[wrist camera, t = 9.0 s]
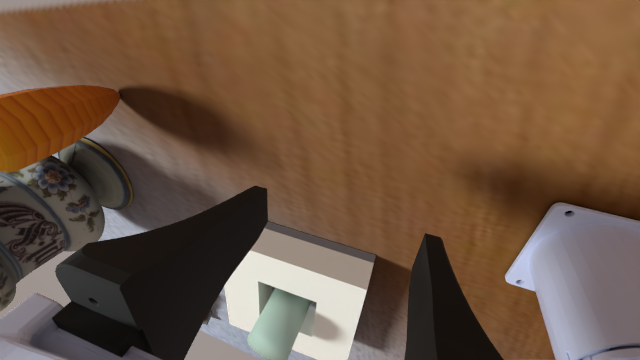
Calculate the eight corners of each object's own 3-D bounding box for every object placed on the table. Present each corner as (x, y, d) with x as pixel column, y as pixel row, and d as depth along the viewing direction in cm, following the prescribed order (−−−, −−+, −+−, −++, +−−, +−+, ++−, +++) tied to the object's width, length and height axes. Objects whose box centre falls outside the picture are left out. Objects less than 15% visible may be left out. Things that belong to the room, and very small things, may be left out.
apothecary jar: (44, 158, 38) (-198, 265, 24) (69, 104, 31) (-250, 208, 17) (119, 228, 41) (-56, 361, 26) (157, 192, 34) (-52, 345, 20)
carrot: (151, 108, 28) (-70, 203, 16) (123, 127, 30) (-85, 221, 18) (113, 55, 26) (-167, 118, 14) (87, 80, 29) (-169, 151, 17)
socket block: (375, 255, 28) (367, 290, 25) (353, 336, 36) (344, 370, 33) (240, 212, 31) (217, 239, 28) (247, 296, 39) (229, 324, 36)
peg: (315, 279, 31) (287, 344, 26) (314, 303, 33) (288, 367, 28) (280, 268, 32) (245, 328, 27) (280, 292, 34) (249, 351, 29)
